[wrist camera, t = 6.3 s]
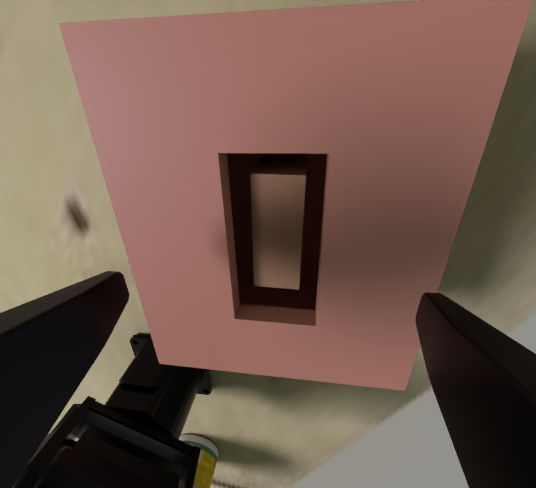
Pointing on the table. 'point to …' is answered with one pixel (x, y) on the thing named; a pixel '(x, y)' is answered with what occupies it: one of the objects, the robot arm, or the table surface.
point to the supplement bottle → (203, 459)
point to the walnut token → (278, 219)
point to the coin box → (318, 170)
